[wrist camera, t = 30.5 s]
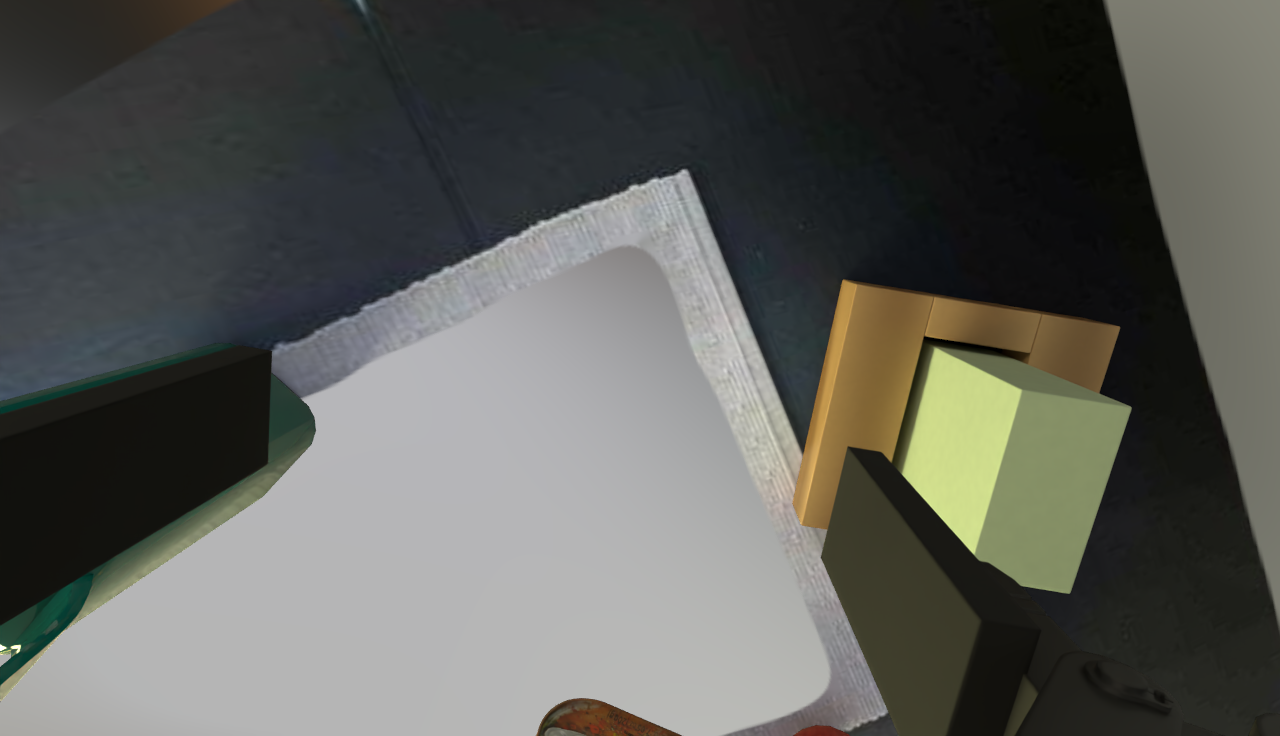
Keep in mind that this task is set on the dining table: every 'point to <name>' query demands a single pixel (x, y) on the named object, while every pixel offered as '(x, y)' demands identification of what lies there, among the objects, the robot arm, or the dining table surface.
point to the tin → (596, 721)
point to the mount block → (887, 358)
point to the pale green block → (1009, 458)
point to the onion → (821, 731)
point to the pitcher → (89, 592)
